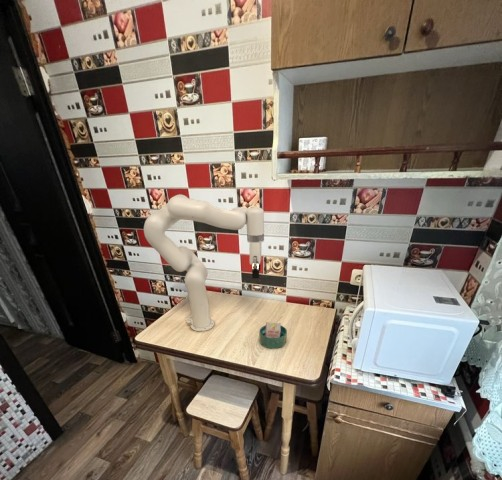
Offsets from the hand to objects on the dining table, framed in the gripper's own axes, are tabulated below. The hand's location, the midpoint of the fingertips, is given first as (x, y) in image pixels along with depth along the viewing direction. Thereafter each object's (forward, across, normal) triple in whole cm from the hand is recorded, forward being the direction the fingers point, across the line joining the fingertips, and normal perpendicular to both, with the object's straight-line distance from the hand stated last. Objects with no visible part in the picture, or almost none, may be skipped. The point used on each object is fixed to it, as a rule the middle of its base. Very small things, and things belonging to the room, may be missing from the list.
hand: (256, 274), depth 133 cm
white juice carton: (+28, +16, +8) cm, 33 cm away
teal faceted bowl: (+28, +16, +8) cm, 34 cm away
